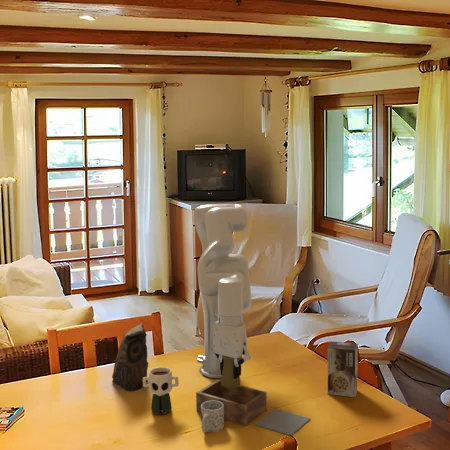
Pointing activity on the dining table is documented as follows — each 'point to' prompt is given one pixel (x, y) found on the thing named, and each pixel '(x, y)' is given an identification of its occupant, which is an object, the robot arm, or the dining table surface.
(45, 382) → the dining table surface
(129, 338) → the owl
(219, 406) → the mug
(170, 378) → the character mug
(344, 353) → the coffee box
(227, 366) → the cork
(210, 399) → the walnut box
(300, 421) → the grey mat
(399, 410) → the dining table surface
